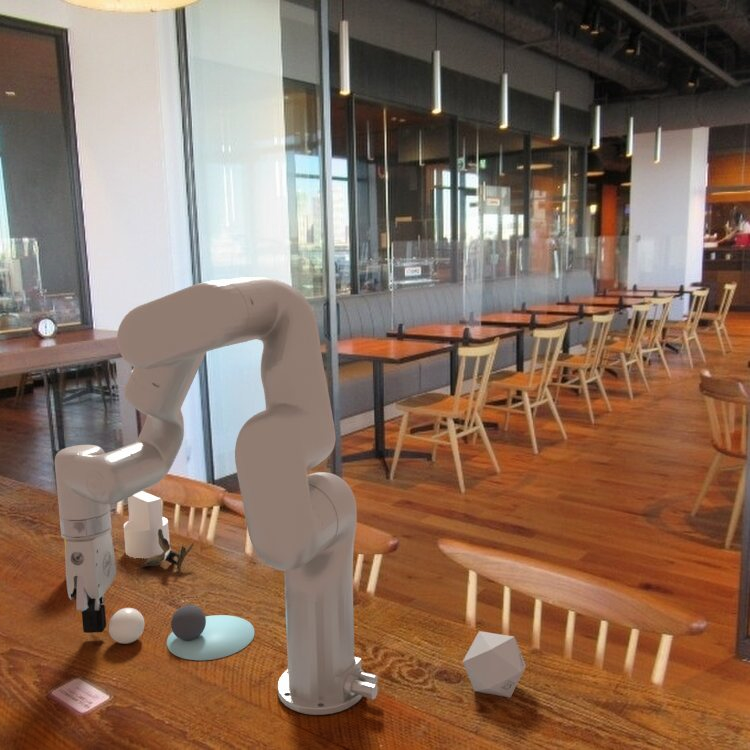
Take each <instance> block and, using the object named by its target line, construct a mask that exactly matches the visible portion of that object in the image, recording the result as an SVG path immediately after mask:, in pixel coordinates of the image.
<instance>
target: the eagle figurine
mask: <svg viewBox="0 0 750 750" xmlns="http://www.w3.org/2000/svg"><path fill="white" fill-rule="evenodd" d="M158 536H159V537H158V538H159V540H158V542H159V545H160V547H161V548H162V549H163V551H164V552H163V553H162V554H161V555H155V556H152V557H150V558H147V559H146V561H145V562H143V563H142V565H141V568H145V567H147V566H151V567H156V566H158V565H160V563H162V564H164V563H165V562H167V563H170V564H172V565H174V566H177V567H176V568H177V571H178V573H179V572H181V571H182V570H181V568H182V565H183V562H184V560H185V558H186V556H187V555H188V553H189V552H190V551H191V550H192V549H193V547H194V545H195V542H194V541H192V542H191V544H190V545H189V547H188V548H186V547H185V545H184V544H183V545H181V548H180V552H179V553H177V552H176V551H175V552H174V551H173V550H172V547H171V545H169V543H170V542H169V543H168V541H167V539H165V538H164V537H163V533H162V529H159V530H158ZM175 557H177V560H175V559H176V558H175Z"/></svg>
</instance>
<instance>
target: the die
mask: <svg viewBox="0 0 750 750" xmlns="http://www.w3.org/2000/svg"><path fill="white" fill-rule="evenodd" d="M462 664H463V666H464V669H465V671H466V673H467V676H468V678H469V681H470V684H471V685H472V688H473V690H474V692H477V693H483V694H488V695H493V696H499V697H504V698H510V699H511V697H512V695H513V693H514V691H515V689H516V687H517V685H518V683H519V682H520V679H521V677H522V675H523V673H524V671H525V669H526V667H527V665H526V662H525V660H524V656H523V655H522V652H521V650H520V648H519V645H518V641H517V640H516V637H515V636H514V635H513V636H512V635H506V634H500V633H493V632H487V631H480V630H479V631H478V632H477V634H476V636H475V638H474V640H473V641H472V643H471V646H470V647H469V649H468V650H467V653H466V654H465V656H464V658H463V660H462Z"/></svg>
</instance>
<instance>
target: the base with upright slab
mask: <svg viewBox="0 0 750 750" xmlns="http://www.w3.org/2000/svg"><path fill="white" fill-rule="evenodd" d="M127 505H128V506H127V508H128V521H125V522H124V523H123V536H124V548H125V555H126V556H127V555H128V556H130V557H129V558H131V557H133V558H132V559H136V558H142V559H143V558H144V559H149V558H150V557H152V556H155V555H161V554H162V553H163V552H164V551H163V549H162V548H161V547H160V545H159V542H158V540H159V538H158V537H159V536H158V530H159V529H162V533H163V537H164V538H165V539H167V541H168V543H169V545H170V531H169V520H168V518H166V517H165V516H163V507H162V497H158V496H155V495H153V494H151V493H148V492H147V491H145V490H143V491H141V492H138V493H136V494H134V495H133V496H131V497H129V498H127ZM170 546H171V545H170ZM128 556H127V557H128Z"/></svg>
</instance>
